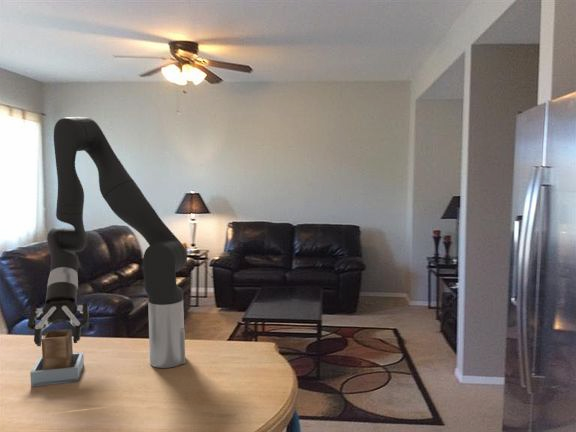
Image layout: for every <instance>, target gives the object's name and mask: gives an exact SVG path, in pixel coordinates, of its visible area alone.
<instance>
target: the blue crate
mask: <svg viewBox="0 0 576 432" xmlns="http://www.w3.org/2000/svg"><path fill="white" fill-rule="evenodd" d="M84 362H85V357H84V352H83V351H82V352H73V367H70V368H60V369H50V370H43V358H42V355H41V356H39V357H38V359H37V360H36V362H35V364H34V366H33V367H32V369H31V371H30V373H29V375H30V377H29V378H30V387H32V388H33V387H39V386H49V385H51V386H52V385H58V384H68V383H69V384H70V383H76V382H79V381H80V377H81V374H82V371H83V368H84V366H85V365H84V364H85V363H84Z"/></svg>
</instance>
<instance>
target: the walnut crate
mask: <svg viewBox="0 0 576 432" xmlns="http://www.w3.org/2000/svg"><path fill="white" fill-rule="evenodd" d="M72 331H73V330H72V329H71V328H69V329H57V330H46V331H45V332H44V334H43V335H42V341H41V356H42V358H43V370H50V369H60V368H70V367H73V353H74V351H73V332H72Z"/></svg>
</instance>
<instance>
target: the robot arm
mask: <svg viewBox="0 0 576 432" xmlns="http://www.w3.org/2000/svg"><path fill="white" fill-rule="evenodd" d="M53 146H54V147H53V148H54V155H55V157H54V158H55V166H56V174H57V175H56V176H57V194H56V195H57V197H56V211H55V216H56V219H57V220H58V221H60V222H62V223H64V224H67V225H70V226H72V227H61V226H56V227H55V226H54V227H52V228H51V229H50V230H49V231H48V233H47V236H46V242H47V245H48V249H49V253H50V268H49V269H50V270H49V276H48V279H47V285H46V287H47V288H46V296H45V302H44V303H45V304H44V307H42V308H41V307H40V308H37V307H36V306H32V307H31V308H30V312H29V316H28V317H29V318H28V322H27V328H28V330H29V332H30V333H33V332H34V336H33V342H34V344H35V345H36V347H42V338H43V331H44V330H45V329H46V328H49V327H50V325H51V324H53V325H56V324H57V325H58V324H66V323H68V322H69V323H70V324H71V325H72V326H73V335H72V342H73V343H74V344H78V341H80V340H81V331H82V329H83V328H89V326H90V318H89V317H90V315H89V314H90V312H89V309H90V308H89V305H88V303H87V302H84V303H83V304H82V305H81V304H80V305H77V299H78V298H77V297H78V288H79V278H78V274H79V273H78V272H79V258H78V256H77V255H76V254H74V253H81V252H83V250H85V248H86V246H87V244H88V241H87V234H86V230H85V226H84V217H83V216H84V206H85V205H84V204H85V192H84V188H83V185H82V182H81V181H80V178H79V176H78V173H77V169H76V157H77V152H80V151H81V152H85V153H86V154H88V156H89V157H90V159H91V160H92V161H93V163H94V165H95V166H96V169H97V173H98V186H99V191H100V194H101V196H102V198H103V199H104V201H105V202H106V204H108V207H109V208H110V209H111V210H112V212H113V213H114V214H115V216H117V217H118V218H119V219H120V220H122V221H123V222H124V223H126V224H127V225H128V226H130V227H131V228H133V229H134V230H135V231H137V232H138V233H139V234H140V235H141V236H142V237H143V238H144V240H145V241H146V242H147V243H148V245H149V246H148V247H147V248H146V249H145V250H144V254H143V259H142V271H143V272H142V273H143V283H144V286H143V287H144V291H145V293H146V295H147V301H148V303H147V304H148V309H147V310H148V338H149V339H148V340H149V342H148V343H149V364H150V366H152V367H153V368H159V369H168V368H173V367H178V366H180V365H184V364H186V342H185V341H186V333H185V322H184V321H185V320H184V318H185V316H184V315H185V311H184V290H183V288H181V287H180V286H178V285H177V277H176V276H177V275H176V273H177V272H179V271H181V270H182V269H184V268H185V266H186V265H187V262H188V253H187V251H186V250H187V249H186V248H185V246H184V245H183V244H182V242H181V241H180V239H178V237H177V236H176V235H175V234H174V233H173V232H172V231H171V230H170V228H169V227H168V226H167V225H166V224H165V223H164V221H163V220H162V218H160V216H159V215H158V213H157V212H156V210H155V209H154V207H153V205H152V204H151V203H150V201H148V199H147V197H146V196H145V195H144V193H143V192H142V189H141V188H140V187H139V186H138V184H137V183H136V182H135V180H134V179H133V178H132V177H131V175H130V173H129V172H128V171H127V169H126V168H125V166H124V165H123V163H122V162H121V160H120V159H119V158H118V156H117V155H116V153H115V151H114V150H113V148H112V146H111V145H110V143H109V141H108V139H107V137H106V135H105V133H104V131H102V129H101V126H99V123H97V121H95V120H94V119H92V118H90V117H87V116H69V117H62V118H60V119H58V120H57V122H56V123H55V125H54V129H53ZM78 311H79V313H80V314H82V320H81V321H79V320H78V319H77V317H76V316H75V315H76V314H77V313H78ZM42 314H43V315H44V316H42V317H41V319H40V321H39V322H38V323H37V320H38V319H37V318H39V317H40V316H41V315H42ZM36 323H37V324H36Z"/></svg>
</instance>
